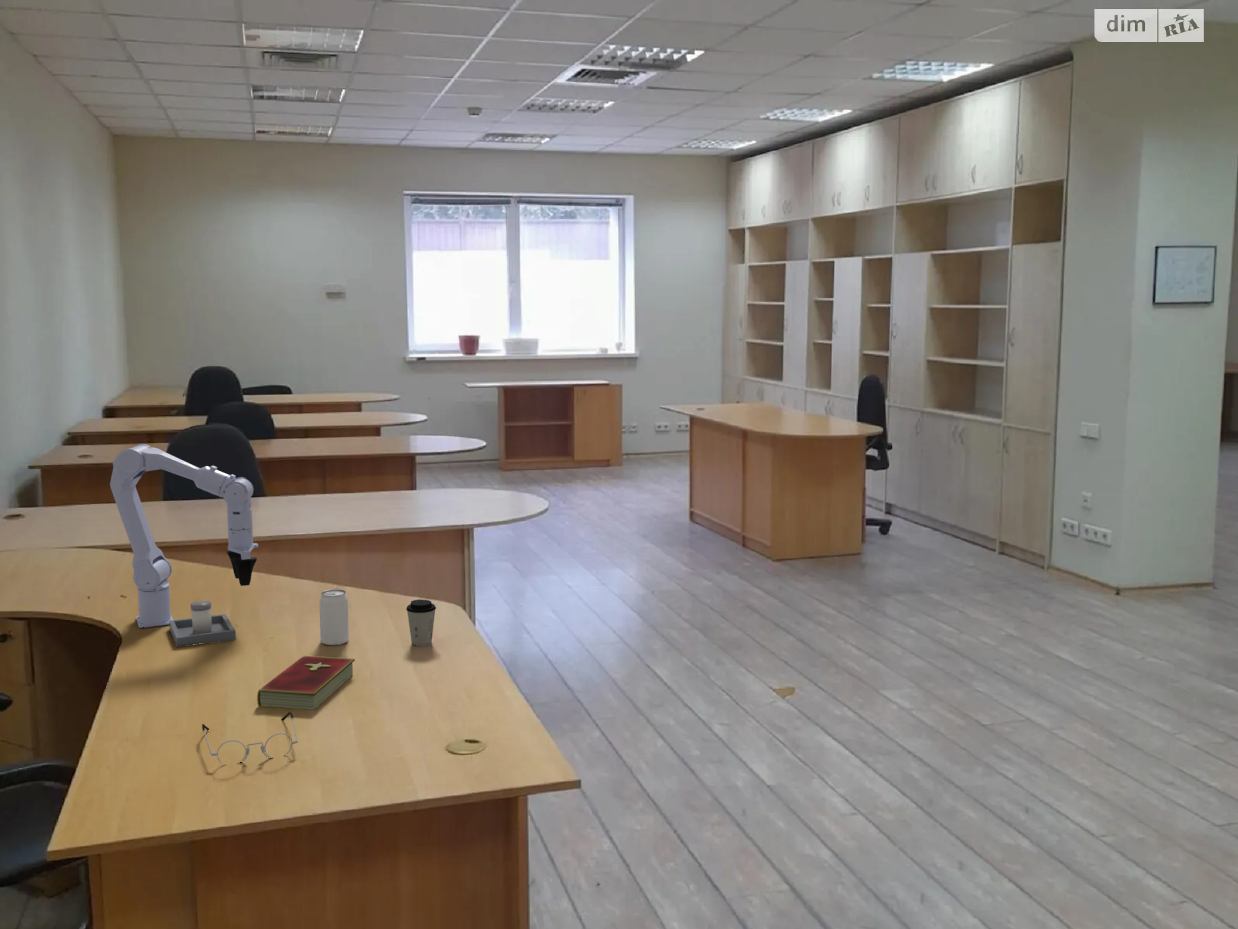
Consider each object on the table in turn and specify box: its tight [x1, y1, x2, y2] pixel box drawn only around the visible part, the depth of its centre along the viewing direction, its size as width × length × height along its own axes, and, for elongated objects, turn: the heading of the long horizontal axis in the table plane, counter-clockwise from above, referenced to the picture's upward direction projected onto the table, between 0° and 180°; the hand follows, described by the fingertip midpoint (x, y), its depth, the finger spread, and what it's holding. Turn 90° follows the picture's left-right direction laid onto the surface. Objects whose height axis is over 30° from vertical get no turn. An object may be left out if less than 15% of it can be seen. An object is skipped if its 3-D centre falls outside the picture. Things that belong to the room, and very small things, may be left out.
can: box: [319, 588, 350, 646], centre depth 254 cm, size 6×6×12 cm
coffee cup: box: [405, 599, 437, 647], centre depth 254 cm, size 7×7×10 cm
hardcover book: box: [256, 655, 355, 711], centre depth 224 cm, size 12×21×4 cm, turn 172°
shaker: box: [190, 600, 212, 634], centre depth 258 cm, size 5×5×7 cm
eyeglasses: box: [201, 711, 299, 764], centre depth 197 cm, size 16×19×5 cm
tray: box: [168, 613, 237, 648], centre depth 259 cm, size 15×13×2 cm
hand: (242, 581), depth 268 cm, fingers open, 7 cm apart
